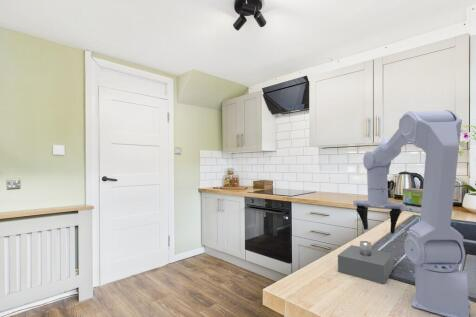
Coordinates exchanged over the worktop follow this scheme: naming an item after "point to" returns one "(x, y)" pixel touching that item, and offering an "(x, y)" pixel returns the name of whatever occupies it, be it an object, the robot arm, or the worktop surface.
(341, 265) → the cover
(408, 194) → the tea box
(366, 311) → the worktop surface
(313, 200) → the worktop surface
